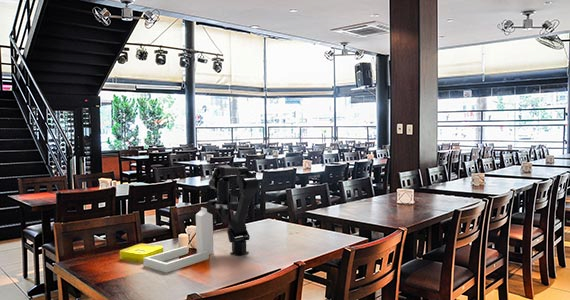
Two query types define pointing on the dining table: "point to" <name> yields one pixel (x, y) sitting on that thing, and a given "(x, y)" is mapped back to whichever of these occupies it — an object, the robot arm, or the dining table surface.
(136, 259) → the element tile
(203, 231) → the milk
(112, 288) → the dining table surface
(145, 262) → the u rest
